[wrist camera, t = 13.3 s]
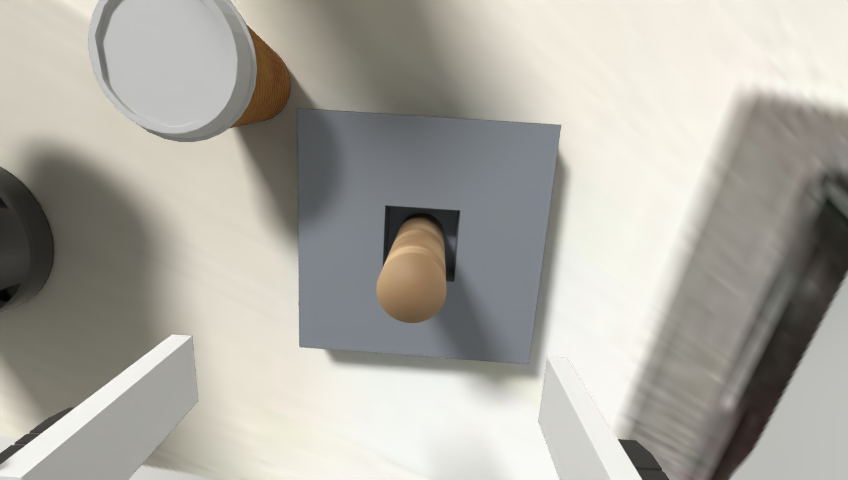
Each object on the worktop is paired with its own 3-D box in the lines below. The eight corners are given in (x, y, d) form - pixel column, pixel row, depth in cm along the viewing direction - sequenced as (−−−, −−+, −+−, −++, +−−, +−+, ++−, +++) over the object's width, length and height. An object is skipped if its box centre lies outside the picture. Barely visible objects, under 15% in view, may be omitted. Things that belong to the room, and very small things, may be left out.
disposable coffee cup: (223, -2, 34) (110, -76, 22) (328, 59, 35) (273, 19, 23) (181, 106, 36) (58, 90, 24) (281, 160, 37) (208, 171, 25)
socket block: (312, 326, 40) (299, 347, 37) (312, 111, 36) (297, 108, 32) (520, 342, 40) (528, 364, 36) (547, 126, 35) (561, 124, 31)
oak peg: (398, 254, 38) (375, 320, 24) (400, 211, 37) (377, 254, 23) (442, 257, 38) (444, 325, 24) (445, 214, 37) (449, 259, 23)
